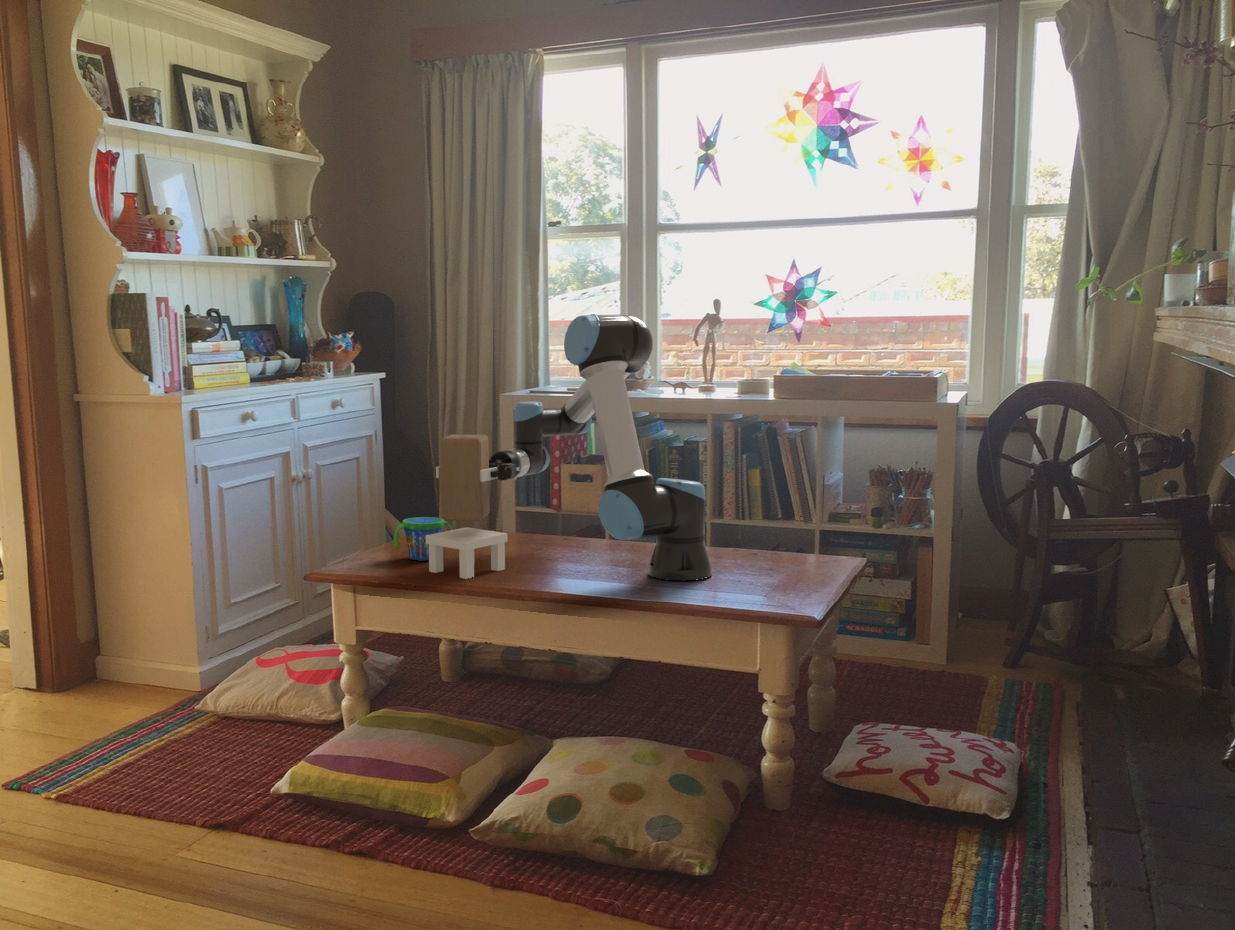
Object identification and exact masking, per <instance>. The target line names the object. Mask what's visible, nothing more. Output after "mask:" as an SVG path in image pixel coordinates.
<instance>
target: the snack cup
mask: <svg viewBox="0 0 1235 930" xmlns="http://www.w3.org/2000/svg"><path fill="white" fill-rule="evenodd" d="M444 525H446V527H447V528H448V531H451V530H453V528H452V526H451V524H450V523H449V522H448V521H446V520H444V519H442V517H441V518H440V517H434V516H432V517H431V516H419V517H418V516H416V517H410V518H404V519H403V520H402V522H401V523H400V524H398V526H397V527H396V528H395V530H394V532H393V539H392V540H393V545H394V548H395V549H397V550H399V549H400V548H399V547H400V546H399V532H400V531H401V530H402V529H403V531H404V534H405V541H406V545H407V546H406V547H407V553H408V558H409V559H410V560H412V561H416V560H418V561H421V562H422V561H423V562H424V561H429V544H426V535H430V534H435V533H440V532H443V529H444Z"/></svg>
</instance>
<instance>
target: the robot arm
mask: <svg viewBox="0 0 1235 930" xmlns="http://www.w3.org/2000/svg"><path fill="white" fill-rule="evenodd" d="M563 341H564V342H563V349H564V355H565V358H566V360H567V361H568V362H569V363H570V364H571V365H574V366H577V367H578V371H579V375H580V377H581V378H583V379H584V382H583V383H582V384H581V385H579V387H578V388H577V390H575V392H574V393H573V394H572V395H571V397H570V398H569V399H567V401H566V402H565V403H564V404H563V406H561V407H543V403H542V402H540V401H519V402H516V403H515V404H514V415H513V420H514V421H513V423H514V448H510V449H505V450H500V451H496V452H494V453H493V454H492V455H491V456H490V457H489V469H484V470H480V482H484V481H488V480H489V481H492V480H493V481H494V480H498V481H507V480H512V479H513V481H516V480H517V478H520V477H525V476H529V475H536V474H539V473H542V472H544V471H545V470H546V469H547V468H548V467H549V465H550V462H551V456H550V453H549V451H548V449H547V448H546V447H545V446H544V437H555V436H570V435H571V436H578V435H582V434H585V433H588V432H589V430H590V429H591V425H592V420H593V419H592V416H593V415H594V416H595V420H596V425H597V430H598V434H599V439H600V444H601V448H602V454H603V458H604V463H605V466H606V471H607V476H608V478H607V480H606V481H605V484H604V486H603V489H604V492H603V493H602V494H601V496H600V497H599V499H598V503H599V504H598V505H597V509H598V512H597V513H598V517H599V520H600V522H601V525H602V527H603V528H604V530H605V531H606V532H607V533H608V534H609V535H610V536H612V537H613V538H614V539H617V540H622V541H623V540H631V541H632V540H633V541H635V540H637V539H641V538H650V537H656V538H655V539H656V541H655V546H654V548H653V552H652V555H651V557H650V558H651V559H650V561H649V564H648V575H649V576H650V577H652V578H654V577H656V578H655V579H657V578H660V579H659V580H661V579H666V580H665V581H668V580H696V579H702V578H705V577H709V578H710V576H711V577H712V575H713V572H712V571H713V569H712V568H713V566H712V563H711V560H710V556H709V553H708V550H707V546H706V542H705V541H706V537H705V536H706V502H707V499H706V490H705V489H706V488H705V486H704V484H702V483H701V482H700V481H694V480H687V479H679V478H670V477H669V478H667V477H666V478H665V477H659V478H657V479H656V482H655V481H654V477H653V474H651V473H649V472H647V471H646V470H645V466H644V462H643V457H642V453H641V448H640V444H639V440H638V435H637V429H636V426H635V420H634V417H633V412H632V407H631V403H630V398H629V394H628V389H627V384H626V379H627V378H628V377H629V376H630V375H631V374H636V373H638V372H639V371H640V370H641V369H642V368H643V367H644V366H645V364H646V363H647V362H648V360H649V358H650V357H651V354H652V351H653V344H654V343H653V342H654V341H653V336H652V333H651V331H650V329H649V327H648V326H647V325H646V323H645V322H644V321H642V320H641V319H639V318H638V317H635V316H633V315H625V314H624V315H616V314H615V315H614V314H613V315H612V314H611V315H610V314H596V313H591V314H585V315H584V314H583V315H582V314H581V315H579V316H576V317H575V318H573V320H572V321H570V323H569V325H568V327H567V329H566V332H565V335H564V340H563ZM435 478H436V479H441V477H440V465H439V466H435ZM667 579H668V580H667ZM702 580H703V579H702ZM696 581H697V580H696Z"/></svg>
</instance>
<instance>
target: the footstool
mask: <svg viewBox="0 0 1235 930" xmlns="http://www.w3.org/2000/svg"><path fill="white" fill-rule="evenodd" d="M508 539H509V538H508V533H507V532H502V531H501V532H500V531H494V530H487V529H481V528H476V527H470V526H469V527H468V526H467V527H461V528H458V529H452V530H451V531H449V530H446V531H442V532H440V533H435V534H430V535H426V544H429V560H428V572H431V573H434V574H435V573H436V574H437V573H441V572H444V548H451V549H454V550H458V555H459V557H458V558H459V560H458V561H459V578H460V579H464V580H469V579H473V578H475V562H476V561H475V549H481V548H484V547H489V546H490V568H491V569H490V570H491V571H494V572H495V571H496V572H501V571H504V570H506V545H505V543H507V542H508ZM472 577H473V578H472ZM468 578H469V579H468Z"/></svg>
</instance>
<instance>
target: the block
mask: <svg viewBox="0 0 1235 930" xmlns="http://www.w3.org/2000/svg"><path fill="white" fill-rule="evenodd" d="M489 440H490V439H489V437H488V435H487V434H455V433H452V434H450V435H447V436H444V437H441V438H440V440H439V466H440V477H441V478H440V516H441V519H443V520H444V521H457V522H458V521H459V522H461V521H463V522H464V521H465V522H479V521H481V520H483V519H484V518H485V517H487V516H488V515H489V514H490V512H491V511H490V510H491V509H490V480H488V481H484V482H480V470H484V469H489V459H490V455H489V454H490V447H489V445H490V442H489Z"/></svg>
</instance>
